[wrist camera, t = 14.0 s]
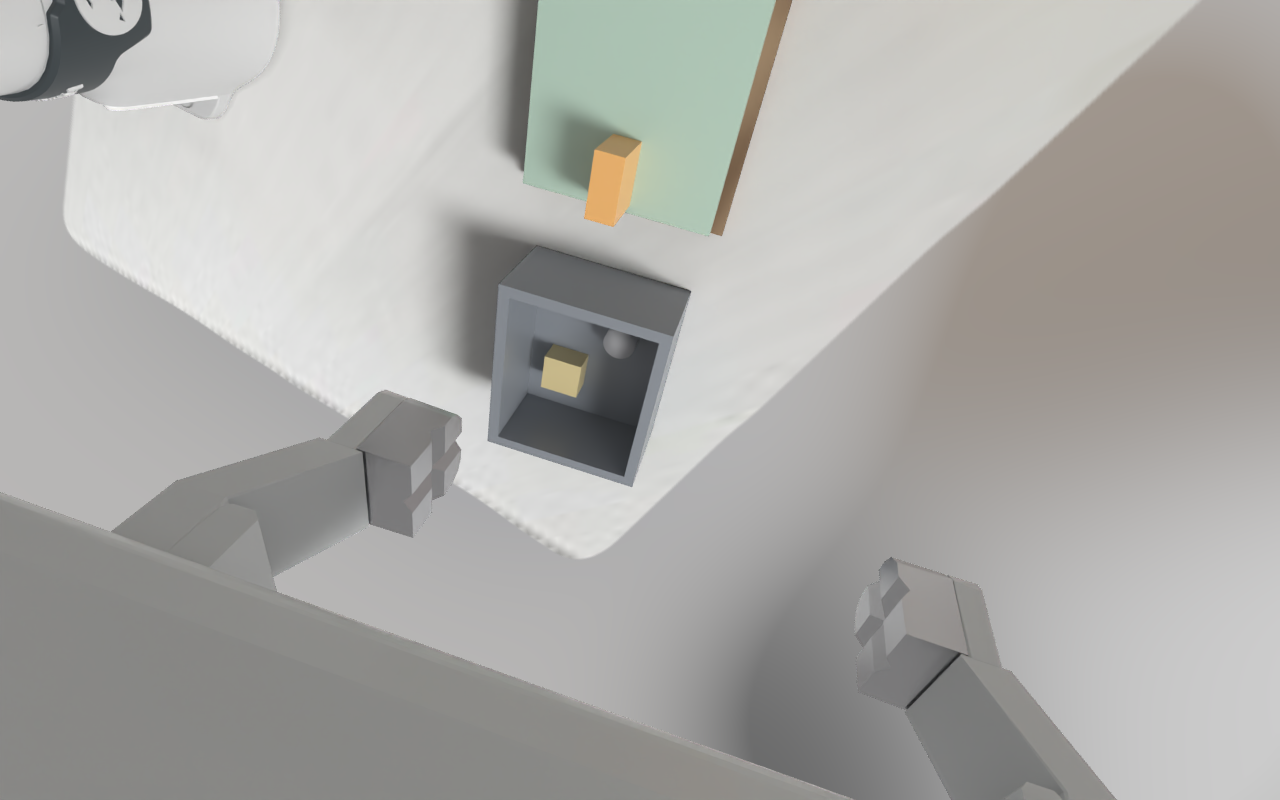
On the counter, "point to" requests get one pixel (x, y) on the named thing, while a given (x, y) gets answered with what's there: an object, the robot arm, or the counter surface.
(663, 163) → the lid
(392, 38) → the counter surface
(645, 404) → the tub
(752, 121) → the pad
